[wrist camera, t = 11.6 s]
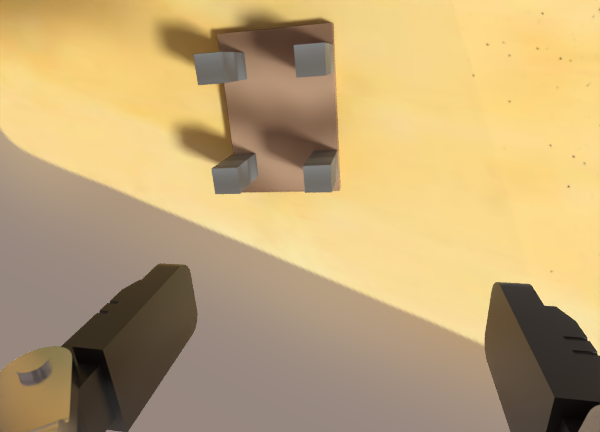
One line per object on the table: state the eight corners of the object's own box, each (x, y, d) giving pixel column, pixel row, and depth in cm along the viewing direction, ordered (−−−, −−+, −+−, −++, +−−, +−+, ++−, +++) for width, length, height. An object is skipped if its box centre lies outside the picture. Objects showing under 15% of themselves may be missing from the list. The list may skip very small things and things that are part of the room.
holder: (221, 34, 32) (189, 30, 27) (333, 23, 31) (323, 16, 25) (242, 189, 37) (218, 212, 31) (340, 187, 35) (332, 211, 30)
